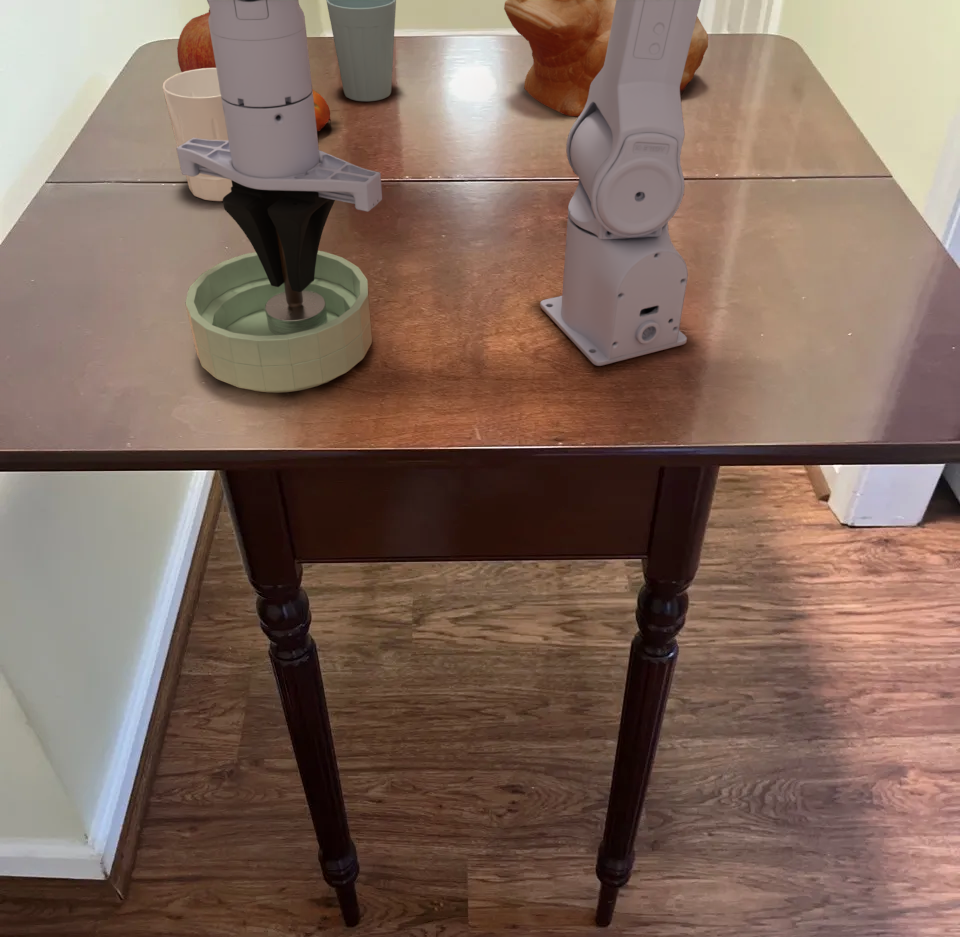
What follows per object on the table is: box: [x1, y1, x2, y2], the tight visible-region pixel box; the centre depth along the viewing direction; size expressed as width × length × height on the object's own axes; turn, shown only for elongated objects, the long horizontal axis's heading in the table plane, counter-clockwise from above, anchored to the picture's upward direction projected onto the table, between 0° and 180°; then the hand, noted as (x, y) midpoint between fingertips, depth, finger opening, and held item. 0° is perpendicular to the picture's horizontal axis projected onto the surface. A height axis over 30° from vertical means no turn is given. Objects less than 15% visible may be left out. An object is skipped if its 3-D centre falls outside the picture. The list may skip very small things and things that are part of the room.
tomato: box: [312, 88, 332, 132], centre depth 103 cm, size 8×7×7 cm
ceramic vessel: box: [503, 0, 709, 117], centre depth 109 cm, size 14×26×15 cm, turn 117°
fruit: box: [176, 8, 216, 73], centre depth 108 cm, size 11×10×10 cm
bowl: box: [184, 250, 373, 394], centre depth 70 cm, size 13×13×5 cm
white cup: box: [161, 68, 233, 202], centre depth 90 cm, size 8×8×10 cm
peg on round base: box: [265, 230, 327, 335], centre depth 69 cm, size 4×4×9 cm
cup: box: [326, 0, 397, 102], centre depth 109 cm, size 8×8×10 cm
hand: (292, 282), depth 69 cm, fingers closed on peg on round base
